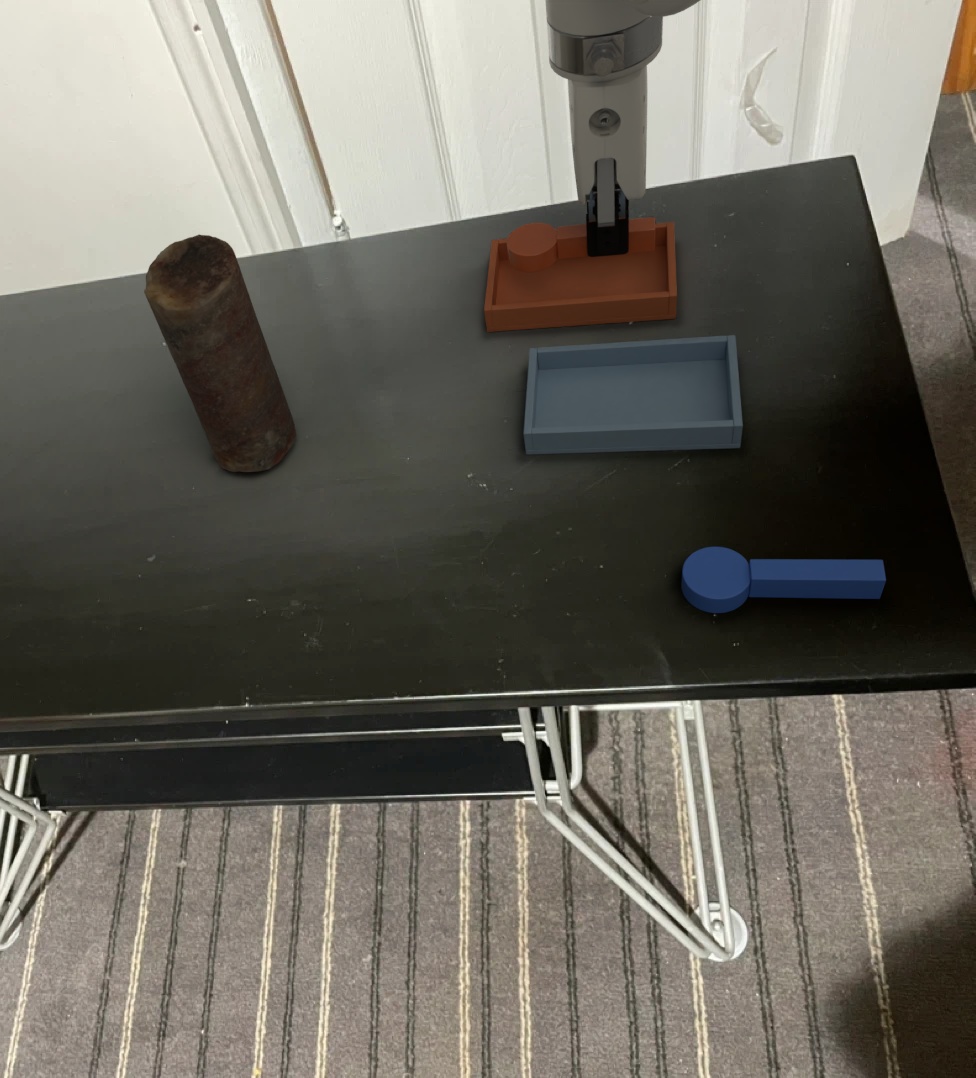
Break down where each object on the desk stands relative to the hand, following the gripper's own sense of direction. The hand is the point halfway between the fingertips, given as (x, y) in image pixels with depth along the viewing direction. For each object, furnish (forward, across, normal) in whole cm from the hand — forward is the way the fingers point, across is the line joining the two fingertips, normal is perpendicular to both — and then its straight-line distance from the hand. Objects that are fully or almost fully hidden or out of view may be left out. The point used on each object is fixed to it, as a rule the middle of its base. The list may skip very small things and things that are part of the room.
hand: (608, 242), depth 85 cm
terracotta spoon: (+1, 0, +2) cm, 2 cm away
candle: (+5, -17, +28) cm, 33 cm away
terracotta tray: (+5, 0, +2) cm, 5 cm away
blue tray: (+5, -14, -2) cm, 15 cm away
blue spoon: (+4, -31, -11) cm, 33 cm away
